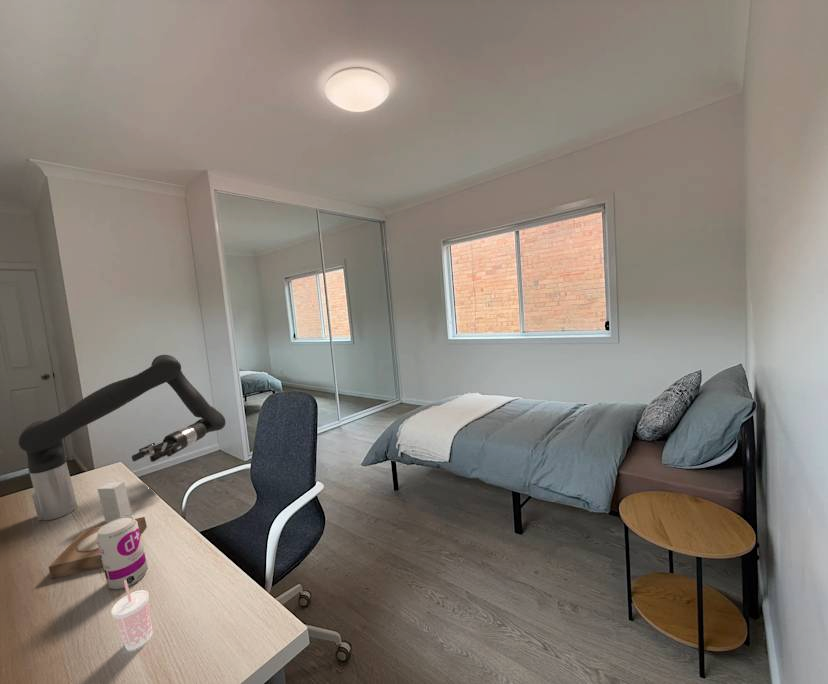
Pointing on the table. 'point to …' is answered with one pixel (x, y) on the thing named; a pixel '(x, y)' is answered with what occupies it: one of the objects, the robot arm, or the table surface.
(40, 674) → the table surface
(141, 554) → the supplement can
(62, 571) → the block
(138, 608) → the beverage cup
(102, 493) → the skincare box
